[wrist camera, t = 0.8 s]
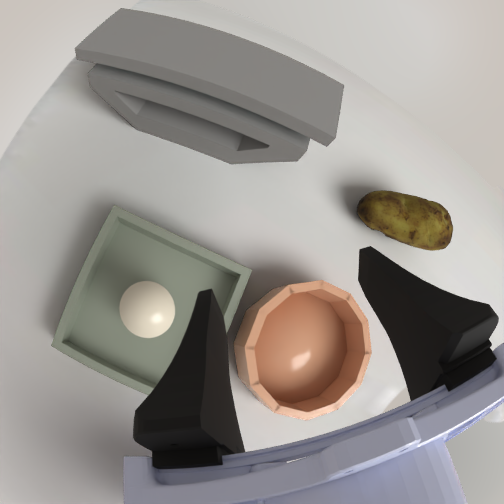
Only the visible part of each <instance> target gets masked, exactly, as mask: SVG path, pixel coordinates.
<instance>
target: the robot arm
mask: <svg viewBox="0 0 504 504" xmlns="http://www.w3.org/2000/svg"><path fill="white" fill-rule="evenodd" d="M358 281H359V283H360V285H361V288H362V290H363V292H364V294H365V297H366V298H367V300H368V302H369V303H370V305H371V307H372V308H373V310H374V312H375V313H376V315H377V317H378V319H379V320H380V322H381V324H382V325H383V327H384V329H385V330H386V332H387V334H388V336H389V338H390V341H391V343H392V345H393V348H394V350H395V353H396V355H397V358H398V361H399V363H400V366H401V369H402V372H403V375H404V378H405V381H406V385H407V388H408V392H409V395H410V399H411V401H410V402H408V403H406V404H404V405H402V406H399V407H397V408H395V409H392V410H390V411H388V412H385V413H383V414H380V415H378V416H375V417H373V418H370V419H367V420H365V421H362V422H359V423H356V424H354V425H351V426H348V427H345V428H342V429H339V430H336V431H332V432H329V433H326V434H323V435H319V436H316V437H312V438H308V439H305V440H301V441H297V442H293V443H289V444H284V445H280V446H276V447H271V448H266V449H261V450H255V451H250V452H245V449H244V445H243V441H242V437H241V433H240V429H239V425H238V420H237V416H236V411H235V406H234V401H233V395H232V390H231V384H230V376H229V361H228V344H227V333H226V327H225V321H224V316H223V314H222V312H221V309H220V307H219V304H218V302H217V300H216V297H215V295H214V293H213V290H212V288H211V289H207V290H203V291H199V293H198V295H197V299H196V302H195V306H194V309H193V312H192V315H191V318H190V321H189V324H188V327H187V329H186V332H185V334H184V336H183V339H182V341H181V344H180V346H179V348H178V350H177V352H176V354H175V356H174V358H173V360H172V362H171V363H170V365H169V367H168V368H167V370H166V372H165V373H164V375H163V376H162V378H161V379H160V381H159V382H158V384H157V385H156V386H155V388H154V389H153V390H152V392H151V393H150V394H149V396H148V397H147V398H146V399H145V400H144V401H143V403H142V404H141V405H140V406H139V407H138V408H137V409H136V410H135V416H134V428H133V438H134V440H135V441H136V442H137V443H138V444H140V445H142V446H144V447H145V448H147V449H149V450H151V451H152V457H148V456H125V457H124V463H123V482H124V504H468V503H467V500H466V498H465V495H464V492H463V489H462V486H461V483H460V481H459V478H458V475H457V472H456V470H455V468H454V465H453V462H452V460H451V457H450V455H449V452H448V450H447V447H446V445H445V442H447V441H448V440H450V439H452V438H453V437H455V436H457V435H458V434H460V433H461V432H463V431H464V430H466V429H467V428H469V427H470V426H472V425H473V424H475V423H476V422H477V421H479V420H480V419H482V418H483V417H485V416H486V415H487V414H489V413H490V412H491V411H493V410H494V409H495V408H497V407H498V406H499V405H501V404H502V403H503V402H504V343H502V344H501V345H499V346H498V347H497V348H496V349H495V350H494V351H493V352H492V350H491V349H490V347H491V345H492V343H491V342H490V340H489V338H490V336H491V335H492V333H493V331H494V330H495V328H496V326H497V324H498V320H499V318H498V316H497V314H496V313H495V312H494V310H493V309H492V308H491V306H490V305H489V304H486V303H481V302H477V301H473V300H469V299H466V298H463V297H460V296H457V295H454V294H452V293H449V292H447V291H444V290H442V289H440V288H438V287H436V286H434V285H432V284H430V283H428V282H426V281H424V280H422V279H420V278H418V277H417V276H415V275H413V274H412V273H410V272H408V271H407V270H405V269H404V268H402V267H401V266H399V265H398V264H396V263H395V262H393V261H392V260H390V259H389V258H387V257H386V256H384V255H383V254H381V253H380V252H379V251H377V250H376V249H374V248H373V247H371V246H370V247H366V248H363V249H360V251H359V274H358ZM311 455H312V456H311ZM308 456H309V457H308ZM304 457H305V458H304ZM300 458H302V459H300ZM296 459H299V460H296ZM291 460H296V461H293V462H289V463H287V461H291Z"/></svg>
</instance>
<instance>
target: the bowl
mask: <svg viewBox="0 0 504 504" xmlns="http://www.w3.org/2000/svg"><path fill="white" fill-rule="evenodd" d="M233 344H234V351H235V357H236V364H237V371H238V377H239V378H240V379H241V381H242V382H243V383H244V384H245V385H246V386H247V388H248V389H249V390H250V391H251V392H252V393H253V394H254V396H255V397H256V398H257V399H258V400H259V401H260V402H261V403H262V404H264V405H265V406H266V407H267V408H269V409H270V410H271V411H272V412H274V413H277V414H281V415H285V416H289V417H294V418H298V419H303V420H309V419H312V418H315V417H318V416H321V415H324V414H327V413H330V412H332V411H335V410H338V409H339V408H340V407H341V406H342V405H343V404H344V403H345V402H346V401H347V400H348V398H349V397H350V396H351V395H352V394H353V393H354V392H355V391H356V390H357V389H358V388H359V387H360V385H361V383H362V381H363V378H364V375H365V372H366V369H367V366H368V363H369V359H370V356H371V353H372V352H371V342H370V333H369V325H368V320H367V318H366V316H365V315H364V313H363V312H362V310H361V309H360V307H359V306H358V304H357V303H356V301H355V300H354V298H353V297H352V295H351V294H350V293H348V292H346V291H344V290H342V289H340V288H338V287H336V286H333V285H331V284H329V283H327V282H325V281H323V280H319V281H312V282H305V283H298V284H291V285H286V286H282V287H278V288H275V289H272V290H271V291H269V292H268V293H267V294H266V295H265V296H263V297H262V298H261V299H260V300H258V301H257V302H256V303H255V304H253V305H252V306H251V307H250V308H249V309H247V310H246V312H245V315H244V317H243V320H242V323H241V325H240V328H239V330H238V333H237V335H236V338H235V340H234V343H233Z"/></svg>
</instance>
